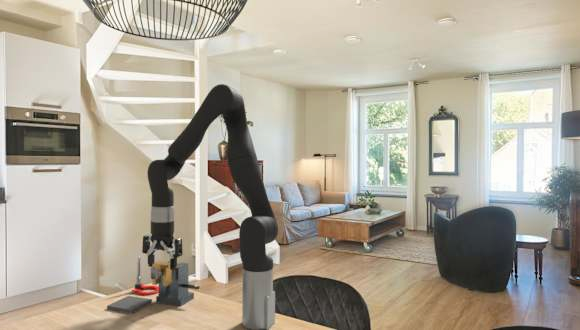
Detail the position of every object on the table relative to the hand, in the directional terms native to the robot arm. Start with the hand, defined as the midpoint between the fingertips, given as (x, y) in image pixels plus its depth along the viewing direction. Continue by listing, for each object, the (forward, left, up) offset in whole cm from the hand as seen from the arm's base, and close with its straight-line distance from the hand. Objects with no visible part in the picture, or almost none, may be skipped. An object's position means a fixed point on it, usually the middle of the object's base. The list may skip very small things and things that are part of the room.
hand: (162, 267), depth 136 cm
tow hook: (+15, -11, -14) cm, 23 cm away
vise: (-3, -3, -14) cm, 14 cm away
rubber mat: (+11, +3, -14) cm, 18 cm away
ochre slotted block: (0, 0, -6) cm, 6 cm away
